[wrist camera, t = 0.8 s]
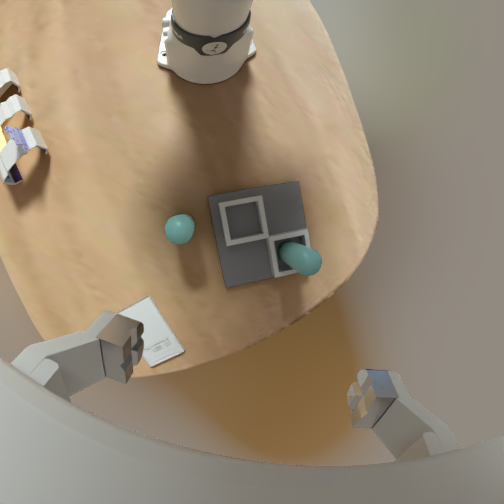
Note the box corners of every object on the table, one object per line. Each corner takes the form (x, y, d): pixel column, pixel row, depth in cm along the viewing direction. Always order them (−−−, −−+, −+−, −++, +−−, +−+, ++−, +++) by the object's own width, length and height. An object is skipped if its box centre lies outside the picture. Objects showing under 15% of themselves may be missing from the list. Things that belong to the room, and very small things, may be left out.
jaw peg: (170, 216, 46) (161, 218, 36) (192, 211, 47) (190, 212, 37) (174, 239, 47) (167, 247, 37) (197, 234, 47) (196, 241, 38)
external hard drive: (150, 294, 48) (184, 347, 51) (116, 312, 47) (151, 363, 50) (148, 296, 46) (184, 351, 49) (113, 315, 46) (149, 367, 48)
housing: (207, 196, 47) (209, 193, 36) (296, 181, 49) (321, 175, 38) (225, 286, 50) (232, 307, 39) (309, 267, 52) (336, 282, 41)
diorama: (52, 150, 40) (16, 137, 27) (20, 185, 39) (-19, 182, 27) (19, 76, 34) (-10, 56, 21) (-10, 108, 34) (-41, 94, 21)
